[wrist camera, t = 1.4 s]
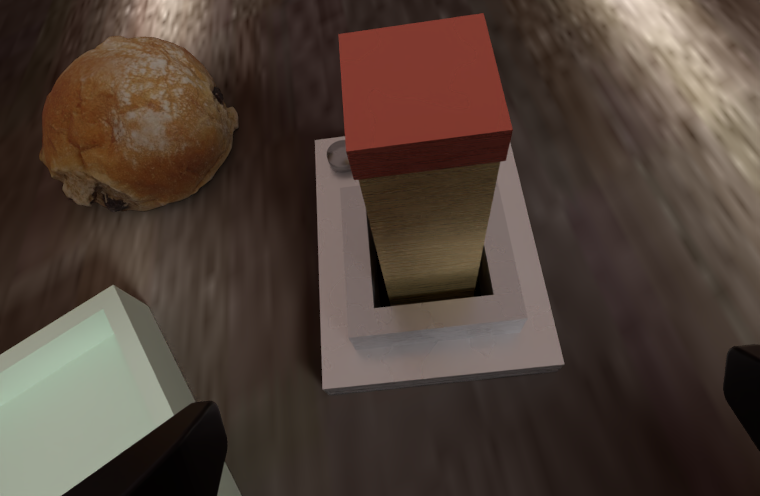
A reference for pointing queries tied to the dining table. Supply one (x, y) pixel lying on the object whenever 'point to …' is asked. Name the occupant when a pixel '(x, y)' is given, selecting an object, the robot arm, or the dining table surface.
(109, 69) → the bread roll
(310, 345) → the dining table surface
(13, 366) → the tray
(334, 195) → the bracket
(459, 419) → the dining table surface
